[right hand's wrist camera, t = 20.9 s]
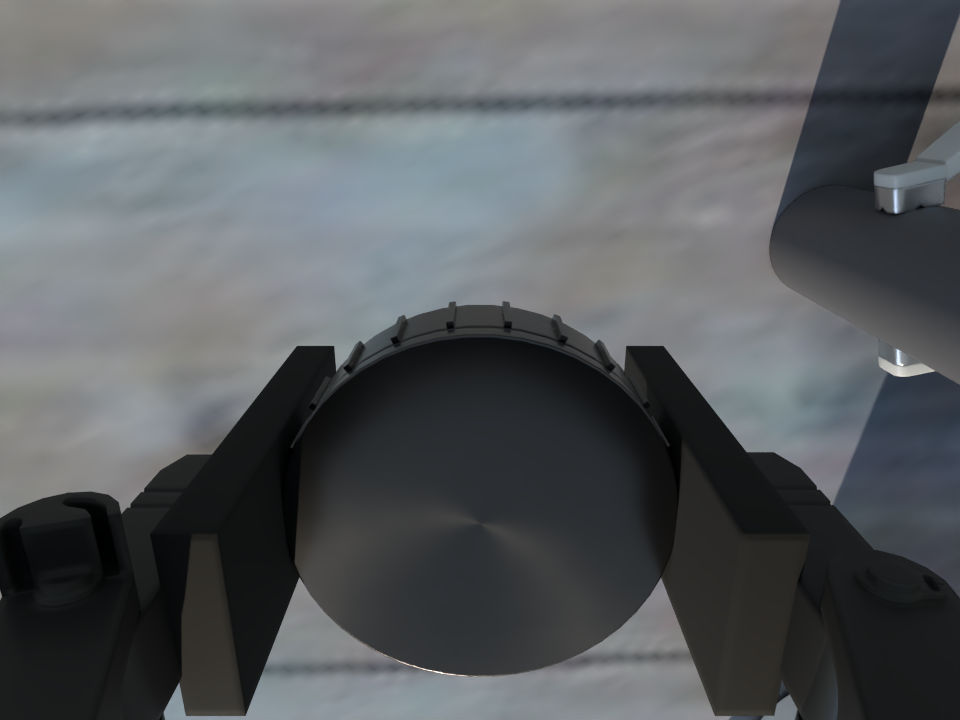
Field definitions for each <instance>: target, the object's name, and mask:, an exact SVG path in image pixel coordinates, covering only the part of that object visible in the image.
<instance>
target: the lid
mask: <svg viewBox="0 0 960 720" xmlns="http://www.w3.org/2000/svg"><path fill="white" fill-rule="evenodd" d="M650 406H651V404H650V402H649V400H648V399H647V397H646V395H645V394H644V392H643V390H642V388H641V387H640V385H639V383H638V382H637V380H636V378H635V377H634V375H631V376H630V377H629V378H628V376H627V375H626V374H625V372H624V371H623V369H622V368H621V367H620V365H619V364H618V363H617V362H616V361H615V360H614V359H613V358H612V357H611V356H610V354H609V352H608V351H607V349H606V347H605V345H604V343H603V342H602V341H600V340H598V341H597V342H596V343H594V342H593V341H592V340H590V339H589V338H588V337H586V336H585V335H583V334H582V333H580V332H578V331H576V330H575V329H573V328H571V327H569V326H567V325H566V324H564V323H562V320H561V317H560V316H558V315H555V314H554V316H553V318H552V319H551V318H549V317H546V316H544V315H541V314H538V313H534V312H530V311H526V310H522V309H518V308H512V307H510V303H509V302H504V301H503V303H502V306H496V305H465V306H456V302H449V307H448V308H442V309H438V310H434V311H431V312H427V313H423V314H419V315H417V316H414V317H412V318H409V319H406V317H405V315H403V316H401V317H399V318H398V320H397V323H396V324H395V325H393V326H391V327H390V328H388V329H386V330H384V331H383V332H381V333H379V334H377V335H376V336H374V337H373V338H372V339H370V340H369V341H368V342H366V343H365V344H363V343H362V342H361V341H359V342H358V343H357V344H356V345H355V346H354V348H353V350H352V352H351V354H350V356H349V358H348V359H347V360H346V361H345V362H344V363H343V364H342V365H341V366H340V368H339V369H338V370H337V372H336V373H335V374H334V376H333V377H332V378H329V377H326V378H325V379H324V381H323V383H322V384H321V386H320V388H319V389H318V391H317V393H316V395H315V396H314V398H313V400H312V401H311V403H310V405H309V407H308V408H310V409H312V412H311V414H310V416H309V417H308V418H306V419H305V421H304V423H303V425H302V426H301V428H300V430H299V432H298V433H297V435H296V437H295V439H294V440H293V442H292V444H291V446H290V448H289V451H288V453H291V454H290V457H289V460H288V463H287V466H286V471H285V476H284V481H283V487H282V507H283V517H284V525H285V534H286V541H287V546H288V550H289V553H290V557H291V559H292V561H293V563H294V566H295V568H296V570H297V573H298V575H299V577H300V578H301V580H302V582H303V583H304V585H305V587H306V588H307V590H308V591H309V593H310V595H311V596H312V597H313V599H314V600H315V601H316V602H317V603H318V605H319V606H320V607H321V608H322V610H323V611H324V612H325V613H326V614H327V615H328V616H329V617H330V618H331V619H332V620H333V621H334V622H335V623H336V624H338V625H339V626H340V627H341V628H342V629H343V630H345V631H346V632H347V633H349V634H350V635H351V636H353V637H354V638H355V639H357V640H358V641H359V642H361V643H363V644H364V645H366V646H368V647H370V648H371V649H373V650H375V651H376V652H378V653H380V654H382V655H385V656H387V657H389V658H391V659H394V660H396V661H398V662H401V663H404V664H407V665H410V666H413V667H416V668H419V669H423V670H427V671H432V672H437V673H442V674H448V675H458V676H468V677H493V676H503V675H513V674H519V673H524V672H529V671H533V670H538V669H541V668H545V667H548V666H551V665H554V664H557V663H560V662H563V661H565V660H567V659H569V658H572V657H574V656H576V655H578V654H581V653H583V652H584V651H586V650H588V649H590V648H591V647H593V646H595V645H596V644H598V643H600V642H602V641H603V640H604V639H606V638H607V637H608V636H610V635H611V634H612V633H614V632H615V631H616V630H618V629H619V628H620V627H621V626H622V625H623V624H624V623H625V622H626V621H628V620H629V619H630V618H631V617H632V616H633V615H634V614H635V613H636V612H637V611H638V609H639V608H640V607H641V606H642V604H643V603H644V602H645V601H646V599H647V598H648V597H649V596H650V594H651V593H652V591H653V590H654V588H655V586H656V585H657V583H658V581H659V580H660V578H661V576H662V574H663V572H664V570H665V567H666V565H667V563H668V560H669V558H670V556H671V552H672V549H673V545H674V538H675V530H676V522H677V513H678V503H679V489H678V483H677V478H676V473H675V468H674V464H673V461H672V458H671V456H670V453H669V452H670V451H672V449H671V446H670V444H669V442H668V440H667V439H666V437H665V435H664V433H663V432H662V430H661V428H660V426H659V425H658V423H657V421H656V419H655V417H654V416H652V417H651V415H650V413H649V411H648V409H647V408H649V407H650Z"/></svg>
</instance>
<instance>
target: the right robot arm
mask: <svg viewBox="0 0 960 720" xmlns="http://www.w3.org/2000/svg"><path fill="white" fill-rule="evenodd" d="M624 372H625V374H626V375H627V376H628V378H629V377H630V376H631V375H634V377H635V378H636V380H637V382H638V383H639V385H640V387H641V388H642V390H643V392H644V394H645V395H646V397H647V399H648V400H649V402H650V404H651V406H650V407H649V408H647V409H648V411H649V413H650V415H651V417H652V416H654V417H655V419H656V421H657V423H658V425H659V426H660V428H661V430H662V432H663V433H664V435H665V437H666V439H667V440H668V442H669V444H670V446H671V449H672V451H670V452H669V453H670V456H671V458H672V461H673V464H674V468H675V473H676V478H677V483H678V489H679V503H678V513H677V522H676V530H675V538H674V545H673V549H672V552H671V556H670V558H669V560H668V563H667V565H666V567H665V570H664V572H663V574H662V576H661V578H662V581H663V583H664V586H665V588H666V591H667V594H668V596H669V599H670V601H671V604H672V607H673V609H674V612H675V614H676V617H677V619H678V622H679V625H680V627H681V630H682V632H683V635H684V637H685V640H686V643H687V645H688V648H689V650H690V653H691V655H692V658H693V661H694V663H695V666H696V668H697V671H698V673H699V676H700V679H701V681H702V684H703V686H704V689H705V691H706V694H707V697H708V699H709V702H710V704H711V707H712V709H713V712H714V715H715V716H774V715H775V710H776V705H777V700H778V695H779V690H780V685H781V680H782V681H783V683H784V685H785V687H786V688H787V690H788V692H789V694H790V696H791V698H792V700H793V702H794V704H795V705H796V707H797V712H796V717H795V720H960V599H959V597H958V595H957V594H956V593H955V592H954V591H953V589H952V588H951V587H950V586H949V584H948V583H947V582H946V581H945V580H944V579H942V578H941V577H939V576H938V575H936V574H935V573H933V572H932V571H931V570H929V569H928V568H926V567H924V566H922V565H920V564H917V563H915V562H913V561H911V560H908V559H906V558H904V557H901V556H897V555H894V554H890V553H886V552H882V551H878V550H874V549H873V548H872V547H871V546H870V545H869V544H868V543H867V542H866V541H865V539H864V538H863V537H862V536H861V535H860V534H859V533H858V532H857V531H856V529H855V528H854V527H853V526H852V525H851V524H850V523H849V522H848V521H847V519H846V518H845V517H844V516H843V515H842V514H841V513H840V512H839V511H838V509H837V508H836V507H835V506H834V505H831V504H830V500H829V499H828V498H827V497H826V496H825V495H824V494H823V493H822V492H821V490H817V486H816V485H815V484H814V483H813V482H812V480H811V479H810V478H809V477H808V476H807V475H806V474H805V473H804V472H803V470H802V469H801V468H799V467H798V466H796V465H794V464H793V463H791V462H789V461H787V460H786V459H784V458H782V457H781V456H779V455H777V454H776V453H774V452H746V451H745V450H744V448H743V447H742V446H741V445H740V443H739V442H738V441H737V440H736V438H735V437H734V436H733V434H732V433H731V432H730V431H729V429H728V428H727V427H726V425H725V424H724V423H723V422H722V420H721V419H720V418H719V417H718V415H717V414H716V413H715V411H714V410H713V409H712V408H711V406H710V405H709V404H708V402H707V401H706V400H705V399H704V397H703V396H702V395H701V394H700V392H699V391H698V390H697V388H696V387H695V386H694V385H693V383H692V382H691V381H690V379H689V378H688V377H687V376H686V374H685V373H684V372H683V371H682V369H681V368H680V367H679V365H678V364H677V363H676V362H675V360H674V359H673V358H672V356H671V355H670V354H669V353H668V351H667V350H666V349H665V348H664V346H626V357H625V370H624ZM335 373H336V364H335V352H334V346H297V347H296V348H295V349H294V351H293V352H292V353H291V354H290V356H289V357H288V358H287V360H286V361H285V362H284V363H283V365H282V366H281V367H280V369H279V370H278V371H277V372H276V374H275V375H274V376H273V377H272V379H271V380H270V381H269V383H268V384H267V385H266V386H265V388H264V389H263V390H262V392H261V393H260V394H259V395H258V397H257V398H256V399H255V401H254V402H253V403H252V404H251V406H250V407H249V408H248V409H247V411H246V412H245V413H244V415H243V416H242V417H241V418H240V420H239V421H238V422H237V424H236V425H235V426H234V427H233V429H232V430H231V431H230V432H229V434H228V435H227V436H226V438H225V439H224V440H223V441H222V443H221V444H220V445H219V447H218V448H217V449H216V450H215V452H214V453H213V454H212V455H186V456H184V457H182V458H181V459H179V460H177V461H176V462H174V463H172V464H170V465H169V466H167V467H165V468H164V469H162V470H160V472H159V473H158V474H157V475H156V476H155V477H154V478H153V479H152V481H151V482H150V483H149V484H148V485H147V486H146V487H145V488H144V492H141V493H140V494H139V495H138V496H137V497H136V498H135V500H134V501H133V502H132V503H131V507H130V508H127V509H126V510H125V511H124V512H123V513H122V514H121V511H120V506H119V502H118V501H116V500H115V499H113V498H112V497H111V496H109V495H107V494H101V493H96V492H75V493H65V494H61V495H56V496H52V497H47V498H43V499H40V500H37V501H35V502H32V503H29V504H27V505H24V506H22V507H19V508H17V509H15V510H13V511H12V512H10V513H8V514H7V515H5V516H3V517H2V518H0V591H1V594H2V598H1V600H0V720H165V717H164V710H165V708H166V706H167V704H168V702H169V700H170V699H171V697H172V695H173V693H174V691H175V689H176V687H177V685H178V683H180V688H181V693H182V698H183V703H184V708H185V713H186V716H246V713H247V711H248V708H249V705H250V703H251V700H252V698H253V695H254V693H255V690H256V687H257V685H258V682H259V680H260V677H261V675H262V672H263V669H264V667H265V664H266V662H267V659H268V657H269V654H270V651H271V649H272V646H273V644H274V641H275V638H276V636H277V633H278V631H279V628H280V626H281V623H282V620H283V618H284V615H285V613H286V610H287V608H288V605H289V602H290V600H291V597H292V595H293V592H294V590H295V587H296V584H297V582H298V579H299V575H298V573H297V570H296V568H295V566H294V563H293V561H292V559H291V557H290V553H289V550H288V546H287V541H286V534H285V525H284V517H283V507H282V487H283V481H284V476H285V471H286V466H287V463H288V460H289V457H290V454H291V453H288V451H289V448H290V446H291V444H292V442H293V440H294V439H295V437H296V435H297V433H298V432H299V430H300V428H301V426H302V425H303V423H304V421H305V419H306V418H308V417H309V416H310V414H311V412H312V409H310V408H308V407H309V405H310V403H311V401H312V400H313V398H314V396H315V395H316V393H317V391H318V389H319V388H320V386H321V384H322V383H323V381H324V379H325V378H326V377H329V378H332V377H333V376H334V374H335Z"/></svg>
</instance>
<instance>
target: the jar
mask: <svg viewBox="0 0 960 720" xmlns="http://www.w3.org/2000/svg"><path fill="white" fill-rule="evenodd" d="M770 260H771V264H772V267H773V269H774V271H775V273H776V275H777V276H778V278H779V279H780V280H781V281H782V282H783V283H784V284H785V285H786V286H788V287H789V288H791V289H793V290H794V291H796V292H798V293H800V294H801V295H803V296H805V297H807V298H808V299H810V300H812V301H814V302H815V303H817V304H819V305H821V306H822V307H824V308H826V309H828V310H829V311H831V312H833V313H835V314H836V315H838V316H840V317H842V318H843V319H845V320H847V321H849V322H850V323H852V324H854V325H856V326H857V327H859V328H861V329H863V330H864V331H866V332H868V333H870V334H872V335H873V336H875V337H877V338H879V339H880V340H882V341H884V342H886V343H887V344H889V345H891V346H893V347H894V348H896V349H898V350H900V351H901V352H903V353H905V354H907V355H908V356H910V357H912V358H914V359H915V360H917V361H919V362H921V363H922V364H924V365H926V366H928V367H929V368H931V369H933V370H935V371H936V372H938V373H940V374H942V375H943V376H945V377H947V378H949V379H950V380H952V381H954V382H956V383H957V384H959V385H960V210H958V209H953V208H948V207H943V206H933V207H926V208H925V207H920V206H919V207H918V208H917V209H916V210H913V211H910V212H907V213H898V214H893V213H886V211H885V210H881V211H879V210H876V209H875V194H874V192H871V191H867V190H862V189H857V188H852V187H848V186H841V185H828V186H822V187H819V188H815V189H813V190H811V191H808V192H806V193H805V194H803V195H801V196H800V197H798V198H797V199H796V200H794V201H793V202H792V203H791V204H790V205H789V206H788V207H787V208H786V209H785V210H784V211H783V213H782V214H781V216H780V217H779V219H778V220H777V222H776V224H775V226H774V229H773V232H772V235H771V239H770Z"/></svg>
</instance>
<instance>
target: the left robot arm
mask: <svg viewBox="0 0 960 720" xmlns="http://www.w3.org/2000/svg"><path fill="white" fill-rule="evenodd" d="M959 172H960V121H958V122H957V123H956V124H954V125H953V126H952V127H951V128H950V129H949V130H947V131H946V132H945V133H944V134H943V135H942V136H940V137H939V138H938V139H937V140H936V141H935V142H933V143H932V144H931V145H930V146H929V147H928V148H926V149H925V150H924V151H923V152H922V153H921V154H920V155H918V156H917V157H916V161H913V162H909V163H905V164H900V165H896V166H892V167H887V168H883V169H879V170H877V171H874V194H875V209H876V210H879V211H881V210H885V211H886V213H893V214H898V213H907V212H910V211H913V210H916V209H917V208H918V207H919V206H920V207H925V208H926V207H933V206H938V205H942V204H944V201H945V182H947V181H949V180H950V179H951V178H953V177H954V176H955V175H957V174H958V173H959ZM878 342H879V366H880V367H881V368H883V369H884V370H886V371H888V372H889V373H891V374H892V375H895V376H900V377H909V376H914V375H918V374H923V373H928V372H933V371H935V370H933V369H931V368H929V367H928V366H926V365H924V364H922V363H921V362H919V361H917V360H915V359H914V358H912V357H910V356H908V355H907V354H905V353H903V352H901V351H900V350H898V349H896V348H894V347H893V346H891V345H889V344H887V343H886V342H884V341H882V340H880V339H879V338H878ZM796 712H797V707H796V705H795V704H794V702H793V700H792V698H791V696H790V694H789V695H788V696H786V697H785V698H783V699H782V700H781V701H779V702H778V703H777V705H776V710H775V715H774V716H763V717H762V719H761V720H795V717H796Z"/></svg>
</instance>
